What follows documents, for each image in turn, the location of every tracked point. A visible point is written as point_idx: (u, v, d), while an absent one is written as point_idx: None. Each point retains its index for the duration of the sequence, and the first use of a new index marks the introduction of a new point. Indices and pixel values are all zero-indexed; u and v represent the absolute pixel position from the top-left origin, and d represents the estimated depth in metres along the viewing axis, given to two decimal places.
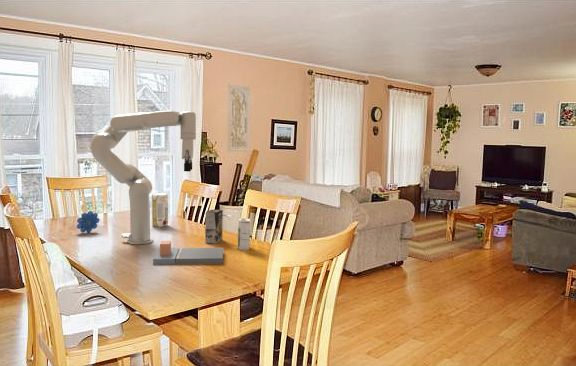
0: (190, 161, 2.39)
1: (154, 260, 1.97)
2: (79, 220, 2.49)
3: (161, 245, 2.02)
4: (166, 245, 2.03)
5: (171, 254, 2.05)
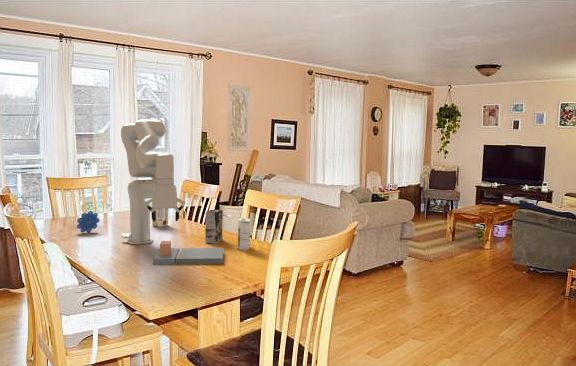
0: (154, 211, 2.04)
1: (154, 260, 1.97)
2: (79, 220, 2.49)
3: (161, 245, 2.02)
4: (166, 245, 2.03)
5: (171, 254, 2.05)
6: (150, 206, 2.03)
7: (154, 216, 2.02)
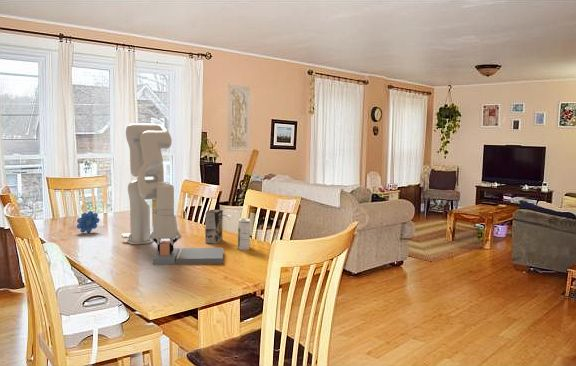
0: None
1: (154, 260, 1.97)
2: (79, 220, 2.49)
3: (161, 245, 2.02)
4: (166, 245, 2.03)
5: (171, 254, 2.05)
6: (156, 238, 2.05)
7: None
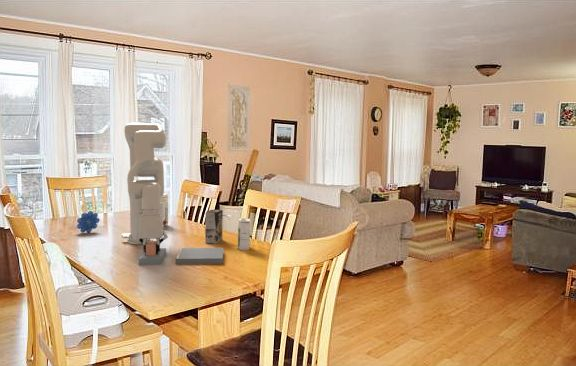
0: None
1: (140, 260, 1.96)
2: (79, 220, 2.49)
3: (147, 245, 2.02)
4: (152, 245, 2.02)
5: (157, 254, 2.04)
6: (142, 238, 2.05)
7: None
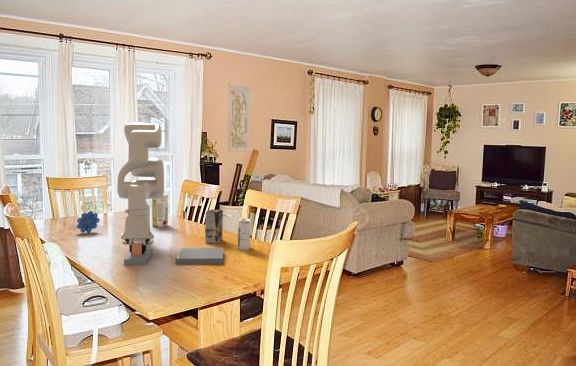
0: None
1: (125, 260, 1.95)
2: (79, 220, 2.49)
3: (133, 245, 2.01)
4: (137, 245, 2.01)
5: (143, 254, 2.03)
6: (128, 239, 2.04)
7: None
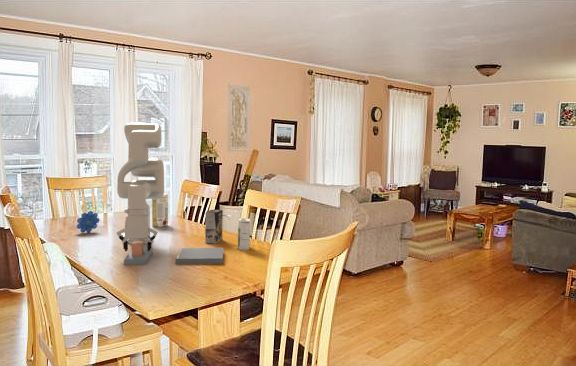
0: (126, 240, 2.04)
1: (125, 260, 1.95)
2: (79, 220, 2.49)
3: (133, 245, 2.01)
4: (137, 245, 2.01)
5: (143, 254, 2.03)
6: (122, 236, 2.03)
7: (126, 246, 2.02)
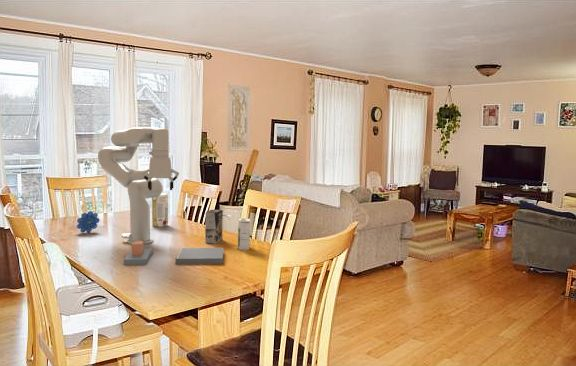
0: (150, 180, 2.22)
1: (125, 260, 1.95)
2: (79, 220, 2.49)
3: (133, 245, 2.01)
4: (137, 245, 2.01)
5: (143, 254, 2.03)
6: (146, 176, 2.21)
7: (150, 185, 2.20)
